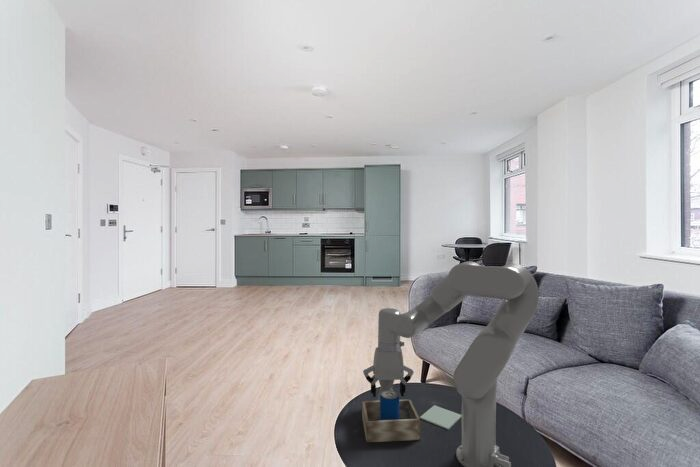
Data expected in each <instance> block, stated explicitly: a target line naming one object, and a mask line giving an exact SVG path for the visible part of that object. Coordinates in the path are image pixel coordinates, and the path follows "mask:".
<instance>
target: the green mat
mask: <svg viewBox="0 0 700 467" xmlns="http://www.w3.org/2000/svg"><path fill="white" fill-rule="evenodd" d="M419 418H420V420H423V421H426V422H428V423H431V424H433V425H436V426H438V427H441V428H443V429H446V430H447V431H449V430H450V429H451V428H452V427H453V426H454V425H455V424H456V423H457V422H458V421H459V420H460V419H462V414H461V413H457V412H454V411H452V410H448V409H446V408H443V407H440V406H438V405H435V404H434V405H433V406H432V407H430V408H429V409H428V410H427V411H425V412H424V413H423V414H421V416H419Z"/></svg>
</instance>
